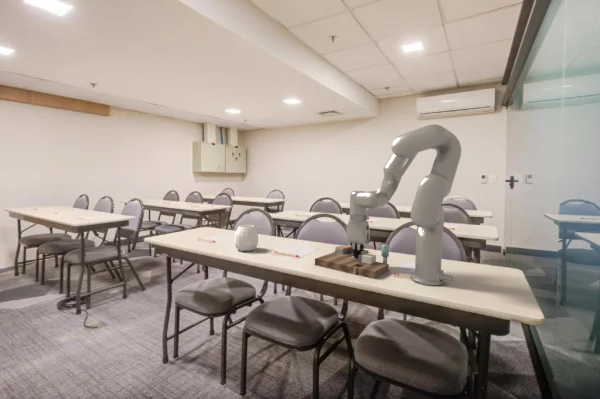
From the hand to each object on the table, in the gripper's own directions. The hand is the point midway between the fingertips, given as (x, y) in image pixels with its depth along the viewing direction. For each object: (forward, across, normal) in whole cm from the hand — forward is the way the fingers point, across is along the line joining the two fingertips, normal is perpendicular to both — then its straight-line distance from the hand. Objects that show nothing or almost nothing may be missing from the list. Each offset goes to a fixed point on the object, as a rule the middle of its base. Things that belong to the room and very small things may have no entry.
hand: (357, 257), depth 139 cm
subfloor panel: (+4, +1, +4) cm, 6 cm away
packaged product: (+5, +15, -20) cm, 26 cm away
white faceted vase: (+4, +63, +12) cm, 64 cm away
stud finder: (+1, -5, 0) cm, 5 cm away
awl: (+4, -10, -8) cm, 13 cm away
